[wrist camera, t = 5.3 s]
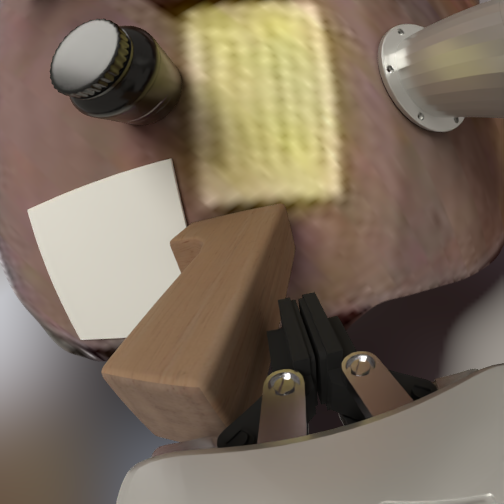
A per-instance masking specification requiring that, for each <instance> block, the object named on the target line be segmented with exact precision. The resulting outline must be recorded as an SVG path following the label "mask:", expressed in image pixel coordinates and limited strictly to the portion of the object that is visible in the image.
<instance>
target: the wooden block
mask: <svg viewBox="0 0 504 504" xmlns="http://www.w3.org/2000/svg"><path fill="white" fill-rule="evenodd" d="M170 247H171V249H172V252H173V254H174V257H175V259H176V262H177V264H178V267H179V269H180V272H181V274H180V275H179V276H178V278H177V279H176V280H175V281H174V282H173V283H172V284H171V286H170V287H169V288H168V289H167V290H166V291H165V292H164V294H163V295H162V296H161V297H160V298H159V299H158V301H157V302H156V303H155V304H154V305H153V307H152V308H151V309H150V310H149V311H148V312H147V314H146V315H145V316H144V317H143V318H142V320H141V321H140V322H139V323H138V324H137V326H136V327H135V328H134V329H133V330H132V332H131V333H130V334H129V335H128V336H127V338H126V339H125V340H124V341H123V343H122V344H121V345H120V346H119V348H118V349H117V350H116V351H115V352H114V354H113V355H112V356H111V357H110V359H109V360H108V361H107V362H106V364H105V365H104V366H103V369H102V375H103V378H104V379H105V380H106V381H107V383H108V384H109V385H110V387H111V388H112V389H113V390H114V391H115V393H116V394H117V395H118V396H119V397H120V399H121V400H122V401H123V402H124V403H125V404H126V405H127V407H128V408H129V409H130V410H131V411H132V412H133V413H134V414H135V415H136V416H137V417H138V418H139V420H140V421H141V422H142V423H143V424H144V425H145V426H146V427H147V428H148V429H149V430H150V431H151V432H152V433H153V434H155V435H156V436H159V437H162V438H166V439H170V440H174V441H179V442H184V441H189V440H193V439H198V438H202V437H206V436H211V438H212V437H216V436H219V435H220V434H221V433H222V431H223V430H225V429H226V428H227V427H228V426H229V425H230V424H231V423H233V422H234V421H235V420H236V419H237V418H238V417H239V416H240V415H242V414H243V413H244V412H245V411H246V410H247V409H248V408H249V407H250V406H251V405H252V404H254V403H255V402H256V401H257V400H258V399H259V398H260V397H261V396H262V393H263V385H264V381H265V379H266V378H267V374H268V370H269V366H270V362H271V359H270V352H269V345H268V339H267V331H270V330H276V329H278V328H279V324H280V320H281V317H280V311H279V305H278V300H280V299H285V297H286V293H287V288H288V283H289V279H290V274H291V269H292V264H293V259H294V254H295V244H294V240H293V235H292V231H291V227H290V223H289V219H288V215H287V211H286V207H285V206H284V204H275V205H270V206H265V207H260V208H255V209H251V210H246V211H242V212H237V213H232V214H228V215H224V216H219V217H215V218H211V219H206V220H202V221H198V222H194V223H191V224H190V225H189V226H187V227H186V228H185V229H184V230H183V231H181V232H180V233H179V234H178V235H177V236H175V237H174V238H173V239H172V240H171V241H170Z"/></svg>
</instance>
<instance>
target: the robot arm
mask: <svg viewBox="0 0 504 504" xmlns="http://www.w3.org/2000/svg"><path fill="white" fill-rule="evenodd" d="M378 65H379V70H380V75H381V77H382V80H383V83H384V86H385V88H386V89H387V91H388V94H389V96H390V97H391V98H392V100H393V101H394V103H395V105H396V106H397V107H398V108H399V109H400V111H401V112H402V113H403V114H404V115H405V116H406V117H407V118H408V119H410V120H411V121H412V122H413V123H415V124H416V125H418V126H419V127H421V128H424V129H426V130H429V131H434V132H447V131H451V130H453V129H455V128H457V127H458V126H459V125H460V124H461V123H462V122H463V120H464V118H465V117H487V118H504V0H491V1H488V2H485V3H482V4H479V5H476V6H474V7H471V8H469V9H466V10H463V11H461V12H459V13H456V14H454V15H452V16H449V17H447V18H445V19H443V20H440V21H438V22H436V23H434V24H432V25H430V26H428V27H426V28H424V27H421V26H418V25H413V24H401V25H398V26H396V27H393V28H392V29H390V30H389V31H387V33H386V34H385V35H384V36H383V37H382V39H381V42H380V44H379V49H378ZM278 305H279V311H280V317H281V323H282V328H281V329H276V330H270V331H267V339H268V345H269V352H270V359H271V365H272V372H273V373H272V374H270V375H269V376H268V377H267V378H266V379H265V381H264V385H263V394H262V396H261V397H260V398H259V399H258V400H257V401H256V402H255V403H254V404H252V405H251V406H250V407H249V408H248V409H247V410H246V411H245V412H244V413H243V414H242V415H240V416H239V417H238V418H237V419H236V420H235V421H234V422H233V423H231V424H230V425H229V426H228V427H227V428H226V429H225V430H223V431H222V433H221V434H220V435H219V436H216V437H212V438H211V436H206V437H202V438H198V439H193V440H189V441H184V442H179V443H174V444H168V445H164V446H161V447H159V448H157V449H156V450H155V451H154V453H153V454H152V458H149V459H146V460H144V461H141V462H140V463H138V464H136V465H134V466H133V467H132V468H131V469H130V470H129V472H128V473H127V475H126V477H125V478H124V480H123V483H122V485H121V488H120V491H119V495H118V498H117V502H116V504H504V363H502V364H497V365H492V366H489V367H486V368H483V369H480V370H478V369H470V370H467V371H464V372H460V373H457V374H453V375H449V376H446V377H441V378H438V379H435V381H434V382H431V381H428V380H426V379H422V378H417V377H413V376H410V375H406V374H402V373H398V372H394V371H391V370H388V369H387V368H386V367H385V366H384V365H383V364H382V362H381V361H380V360H379V359H378V358H377V357H376V356H375V355H374V354H372V353H369V352H364V351H359V352H357V351H356V349H355V347H354V345H353V343H352V341H351V340H350V338H349V336H348V334H347V332H346V330H345V328H344V327H343V325H342V323H341V321H340V319H339V318H338V317H337V316H335V317H331V318H327V316H326V314H325V312H324V310H323V308H322V306H321V304H320V302H319V300H318V298H317V296H316V294H315V293H309V294H304V295H302V298H301V299H299V309H300V312H299V309H298V306H297V303H296V301H295V300H291V299H290V298H285V299H280V300H278ZM317 392H318V396H319V399H320V403H321V404H325V403H326V406H327V409H328V410H330V409H331V410H333V411H336V412H338V413H339V417H340V419H341V421H342V422H343V424H344V426H343V427H339V428H335V429H331V430H328V431H324V432H319V433H315V434H311V435H309V430H308V423H309V421H310V420H311V419H312V418H313V416H314V415H315V414H316V410H315V406H317V405H318V402H317Z"/></svg>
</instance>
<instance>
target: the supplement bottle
mask: <svg viewBox="0 0 504 504" xmlns="http://www.w3.org/2000/svg"><path fill="white" fill-rule="evenodd" d="M50 74H51V75H50V79H51V80H52V84H53V85H54V88H55V89H57V90H58V92H59V93H63V94H64V95H67V96H69V97H70V100H71V102H72V103H73V105H74V106H75V107H76V108H77V109H78V110H79V111H80V112H81V113H83V114H85V115H87V116H90V117H94V118H100V119H106V120H111V121H117V122H122V123H127V124H133V125H147V124H151V123H154V122H157V121H159V120H160V119H162V118H164V117H165V116H166V115H167V114H169V113H170V112H171V111H172V109H173V108H174V107H175V105H176V104H177V102H178V100H179V98H180V95H181V91H182V78H181V75H180V72H179V70H178V69H177V67H176V66H175V64H174V63H173V62H172V61H171V59H170V58H169V57H168V55H167V54H166V53H165V52H164V50H163V49H162V48H161V47H160V45H159V44H158V43H157V42H156V40H155V39H154V38H153V37H152V36H151V35H150V34H149V33H148V32H146V31H145V30H143V29H141V28H138V27H134V26H118V25H117V24H115V23H113V22H112V21H110V20H106V19H101V20H100V19H96V20H90V21H89V22H86V23H83V24H82V25H80V26H78V27H76V28H75V29H74V30H73V31H71V32H70V33H69V35H67V36H66V37H65V38H64V40H63V41H62V42H61V43H60V45H59V47H58V48H57V49H56V51H55V54H54V56H53V59H52V63H51V69H50Z"/></svg>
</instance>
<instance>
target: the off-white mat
mask: <svg viewBox="0 0 504 504" xmlns="http://www.w3.org/2000/svg"><path fill="white" fill-rule="evenodd" d="M28 214H29V218H30V221H31V224H32V228H33V231H34V234H35V237H36V240H37V243H38V246H39V249H40V252H41V255H42V257H43V260H44V263H45V265H46V268H47V270H48V273H49V275H50V278H51V280H52V283H53V285H54V287H55V289H56V292H57V294H58V296H59V298H60V300H61V303H62V305H63V307H64V309H65V311H66V313H67V315H68V317H69V319H70V321H71V323H72V325H73V326H74V328H75V330H76V332H77V334H78V336H79V337H80V339H81V340H88V339H111V338H127V336H128V335H129V334H130V333H131V332H132V330H133V329H134V328H135V327H136V326H137V324H138V323H139V322H140V321H141V320H142V318H143V317H144V316H145V315H146V314H147V312H148V311H149V310H150V309H151V308H152V307H153V305H154V304H155V303H156V302H157V301H158V299H159V298H160V297H161V296H162V295H163V294H164V292H165V291H166V290H167V289H168V288H169V287H170V286H171V284H172V283H173V282H174V281H175V280H176V279H177V278H178V276H179V275H180V274H181V272H180V269H179V267H178V264H177V262H176V259H175V257H174V254H173V252H172V249H171V247H170V241H171V240H172V239H173V238H174V237H175V236H177V235H178V234H179V233H180V232H181V231H183V230H184V229H185V228H186V227H187V222H186V218H185V214H184V210H183V206H182V202H181V198H180V193H179V189H178V185H177V180H176V176H175V171H174V166H173V162H172V158H170V159H167V160H163V161H159V162H156V163H152V164H149V165H145V166H142V167H138V168H135V169H132V170H129V171H126V172H122V173H119V174H116V175H113V176H110V177H107V178H105V179H102V180H99V181H96V182H93V183H91V184H88V185H85V186H83V187H80V188H77V189H75V190H72V191H70V192H67V193H65V194H62V195H60V196H58V197H55V198H53V199H51V200H48V201H46V202H44V203H41V204H39V205H37V206H35V207H33V208H31V209H28Z"/></svg>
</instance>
